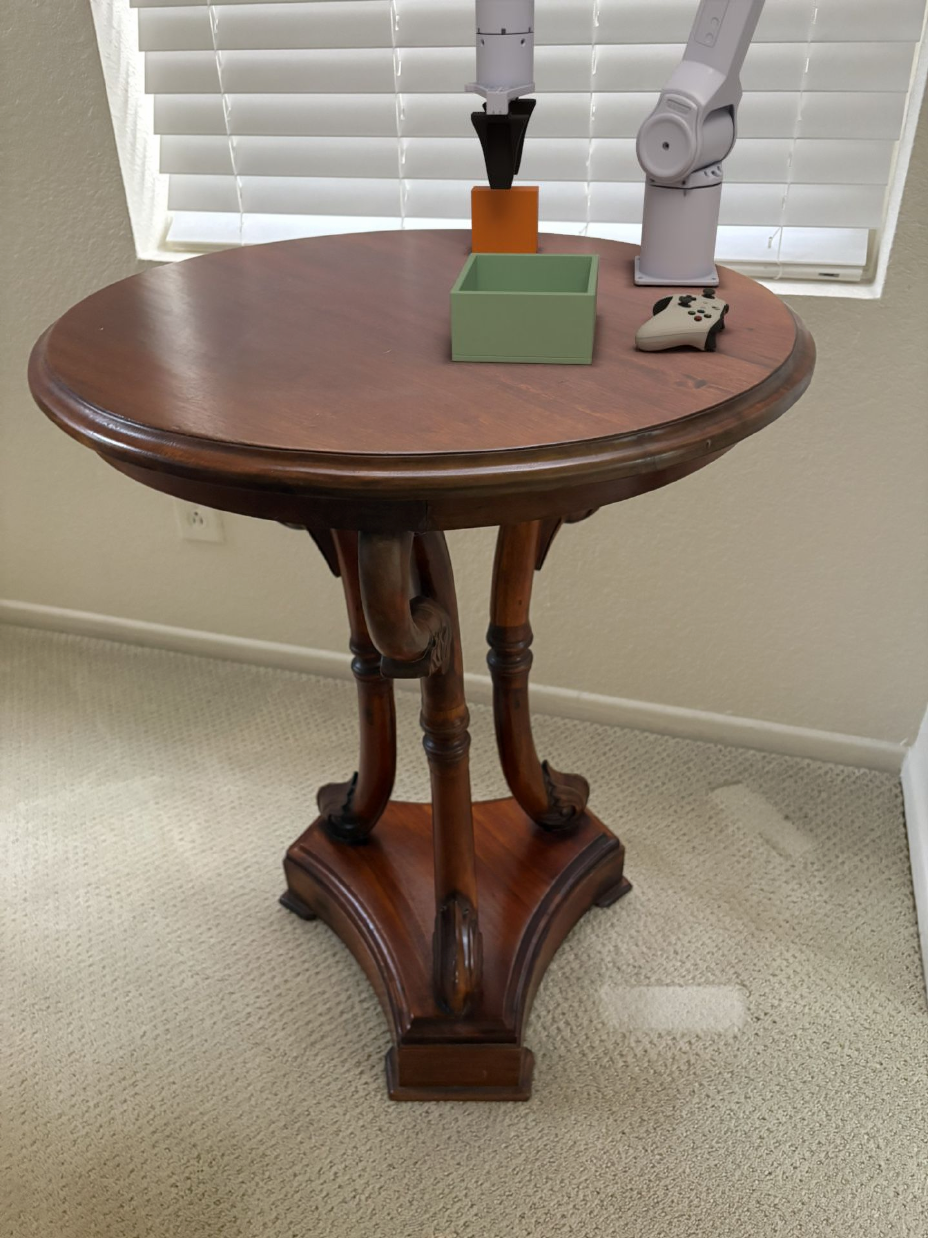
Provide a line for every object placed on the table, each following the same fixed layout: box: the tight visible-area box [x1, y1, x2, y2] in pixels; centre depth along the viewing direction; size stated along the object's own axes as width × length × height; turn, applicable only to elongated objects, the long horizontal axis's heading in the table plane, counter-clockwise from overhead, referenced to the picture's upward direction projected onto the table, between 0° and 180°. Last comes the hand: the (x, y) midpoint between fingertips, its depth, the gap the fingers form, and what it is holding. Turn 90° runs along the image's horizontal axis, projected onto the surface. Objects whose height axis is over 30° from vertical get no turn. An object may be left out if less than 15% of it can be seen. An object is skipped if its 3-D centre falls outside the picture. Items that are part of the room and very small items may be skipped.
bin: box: [449, 252, 600, 365], centre depth 84 cm, size 12×11×6 cm
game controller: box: [634, 287, 730, 352], centre depth 84 cm, size 10×5×6 cm
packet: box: [470, 185, 540, 254], centre depth 108 cm, size 2×7×6 cm, turn 82°
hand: (504, 181), depth 106 cm, fingers open, 7 cm apart
